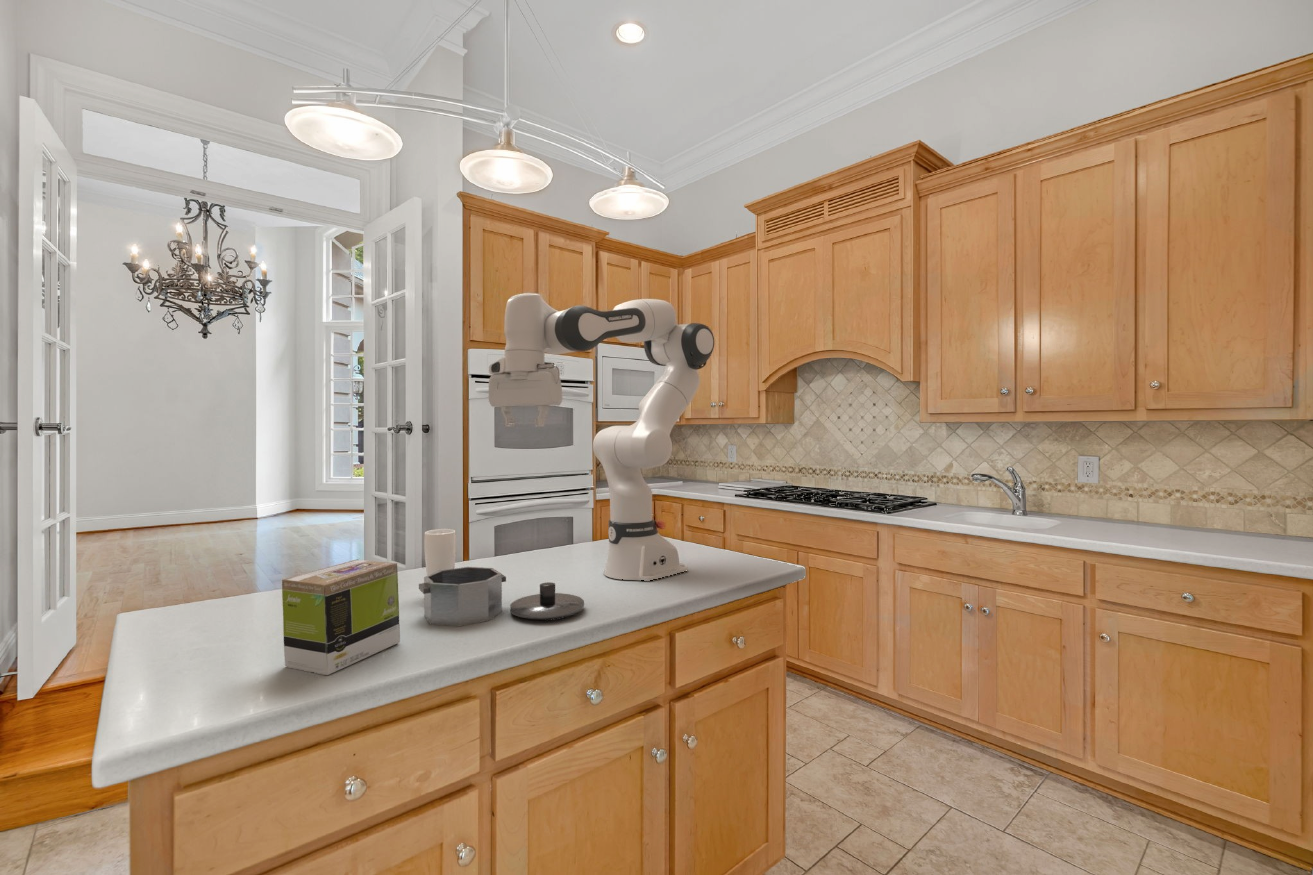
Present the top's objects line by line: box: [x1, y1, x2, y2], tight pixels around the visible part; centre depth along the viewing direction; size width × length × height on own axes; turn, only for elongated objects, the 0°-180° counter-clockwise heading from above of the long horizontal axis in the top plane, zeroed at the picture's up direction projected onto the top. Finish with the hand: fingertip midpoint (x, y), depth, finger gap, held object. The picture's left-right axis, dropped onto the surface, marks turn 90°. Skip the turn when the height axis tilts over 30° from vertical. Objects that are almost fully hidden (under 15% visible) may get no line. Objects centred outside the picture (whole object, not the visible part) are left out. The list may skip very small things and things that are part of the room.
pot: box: [418, 566, 507, 627], centre depth 122 cm, size 17×14×8 cm
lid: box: [509, 582, 585, 621], centre depth 123 cm, size 15×15×6 cm
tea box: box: [281, 558, 401, 676], centre depth 100 cm, size 15×10×15 cm
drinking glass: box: [423, 528, 457, 576], centre depth 134 cm, size 7×7×15 cm
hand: (524, 426), depth 133 cm, fingers open, 8 cm apart
